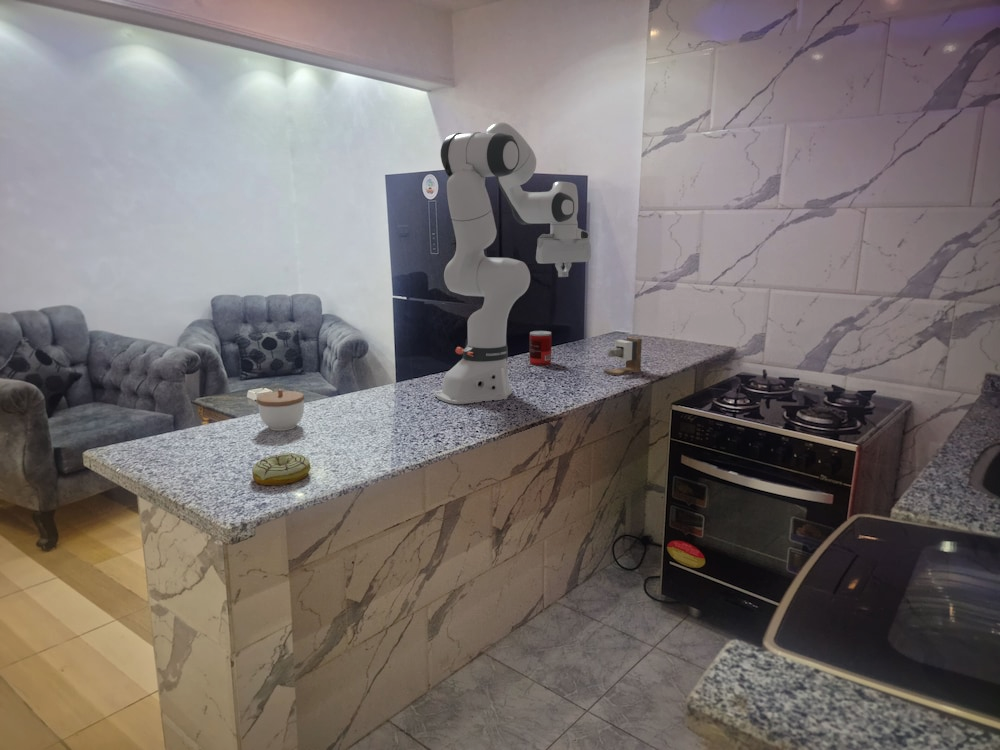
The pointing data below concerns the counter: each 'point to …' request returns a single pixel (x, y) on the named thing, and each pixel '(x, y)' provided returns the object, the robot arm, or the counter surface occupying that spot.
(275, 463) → the decorated donut
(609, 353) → the pipe stand
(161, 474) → the counter surface
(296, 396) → the lidded jar
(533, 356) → the canned food
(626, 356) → the sleeve
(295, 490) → the counter surface
